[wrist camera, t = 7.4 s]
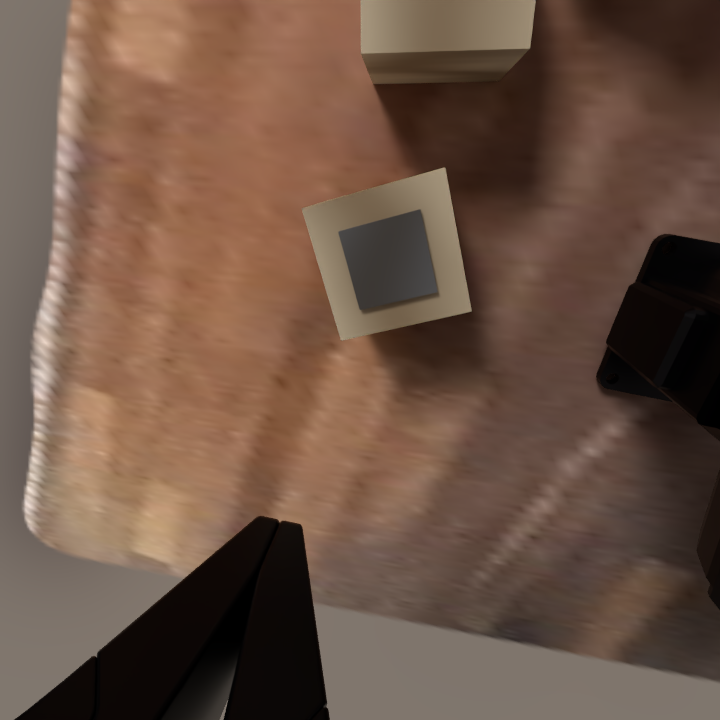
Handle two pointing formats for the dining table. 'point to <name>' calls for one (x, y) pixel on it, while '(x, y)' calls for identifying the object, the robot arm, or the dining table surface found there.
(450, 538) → the dining table surface
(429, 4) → the plain block
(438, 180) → the labelled block
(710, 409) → the robot arm
